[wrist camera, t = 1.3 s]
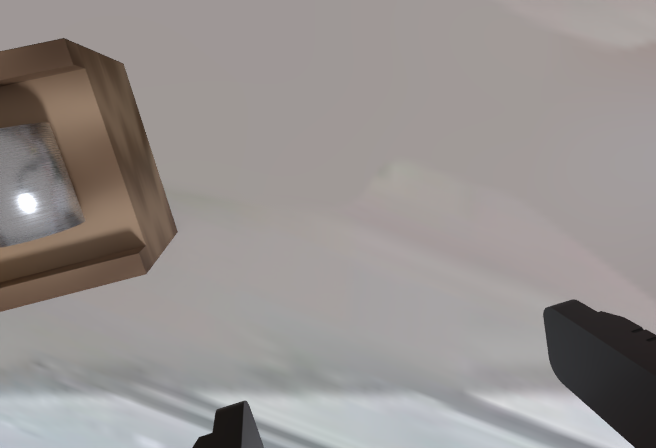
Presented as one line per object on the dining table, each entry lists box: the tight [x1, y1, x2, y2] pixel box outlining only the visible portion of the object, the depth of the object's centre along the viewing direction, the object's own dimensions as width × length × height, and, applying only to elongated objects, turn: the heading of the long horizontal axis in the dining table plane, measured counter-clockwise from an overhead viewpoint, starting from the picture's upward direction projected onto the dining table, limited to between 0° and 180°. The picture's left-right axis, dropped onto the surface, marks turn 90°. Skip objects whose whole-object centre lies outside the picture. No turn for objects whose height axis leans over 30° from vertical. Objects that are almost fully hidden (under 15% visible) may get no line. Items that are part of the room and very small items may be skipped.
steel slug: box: [0, 123, 85, 248], centre depth 22 cm, size 5×4×4 cm
